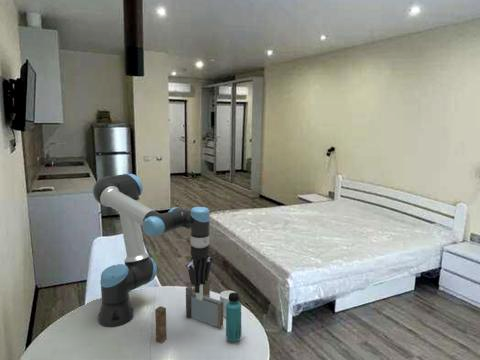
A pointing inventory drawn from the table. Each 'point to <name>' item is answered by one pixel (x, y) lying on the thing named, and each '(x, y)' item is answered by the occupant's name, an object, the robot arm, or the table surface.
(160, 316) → the gate frame
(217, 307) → the gate panel
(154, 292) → the table surface
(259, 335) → the table surface
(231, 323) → the beverage bottle
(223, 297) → the white cup
